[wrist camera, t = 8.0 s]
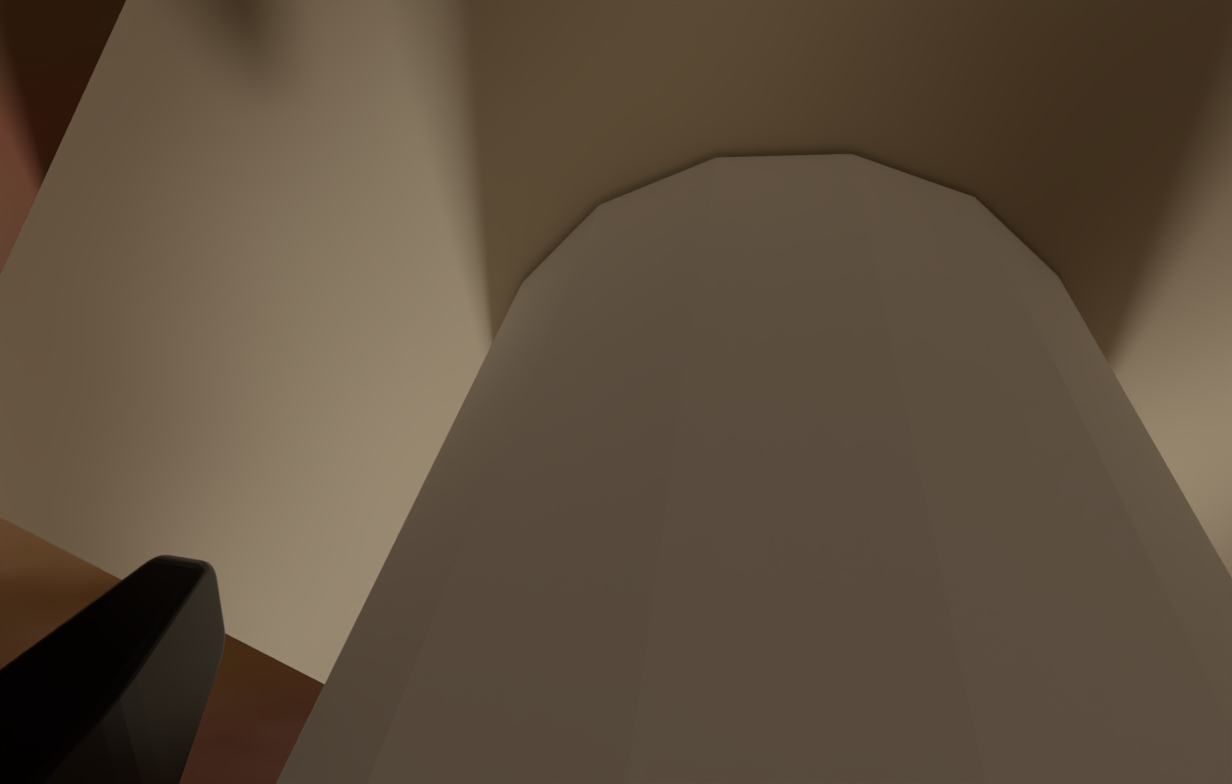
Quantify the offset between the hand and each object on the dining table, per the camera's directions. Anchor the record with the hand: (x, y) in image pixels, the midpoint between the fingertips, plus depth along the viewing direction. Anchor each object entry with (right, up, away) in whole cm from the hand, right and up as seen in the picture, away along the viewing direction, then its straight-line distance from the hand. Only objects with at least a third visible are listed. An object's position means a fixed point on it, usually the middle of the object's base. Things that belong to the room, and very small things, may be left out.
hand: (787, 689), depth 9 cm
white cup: (0, +2, +2) cm, 3 cm away
